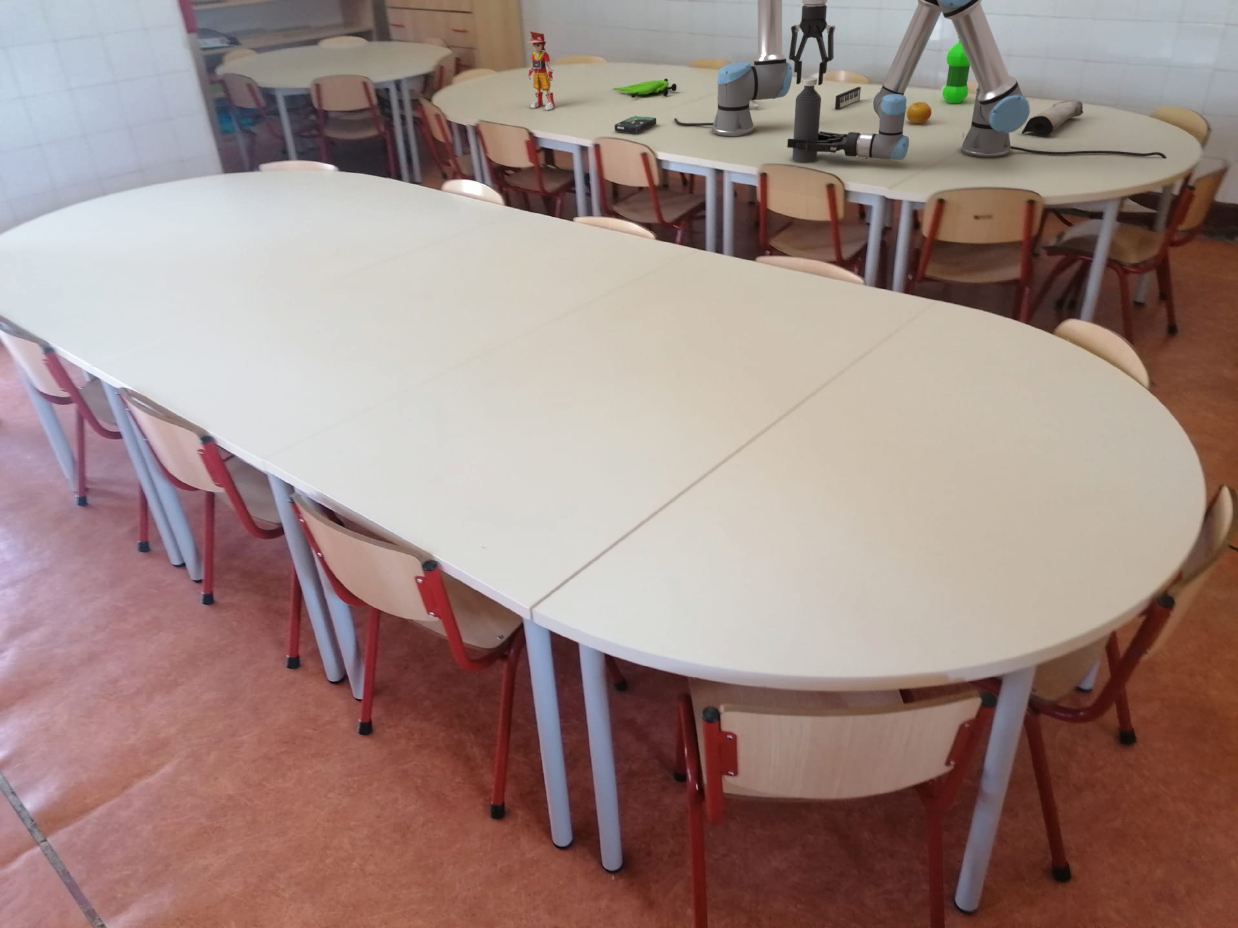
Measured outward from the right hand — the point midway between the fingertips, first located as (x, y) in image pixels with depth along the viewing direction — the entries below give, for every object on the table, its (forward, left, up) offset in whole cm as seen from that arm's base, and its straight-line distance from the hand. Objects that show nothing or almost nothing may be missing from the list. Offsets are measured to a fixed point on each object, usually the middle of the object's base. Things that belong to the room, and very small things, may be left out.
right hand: (792, 139), depth 302 cm
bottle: (-4, +2, -6) cm, 8 cm away
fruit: (-51, -37, -6) cm, 64 cm away
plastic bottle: (-72, -65, -6) cm, 97 cm away
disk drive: (+54, -46, -6) cm, 72 cm away
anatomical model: (+11, -74, -6) cm, 75 cm away
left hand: (-4, +2, +18) cm, 19 cm away
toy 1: (+95, -87, -6) cm, 129 cm away
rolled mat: (-96, -25, -6) cm, 99 cm away
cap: (-4, +2, +19) cm, 20 cm away
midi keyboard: (-31, -69, -6) cm, 76 cm away
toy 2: (+53, -108, -6) cm, 120 cm away
